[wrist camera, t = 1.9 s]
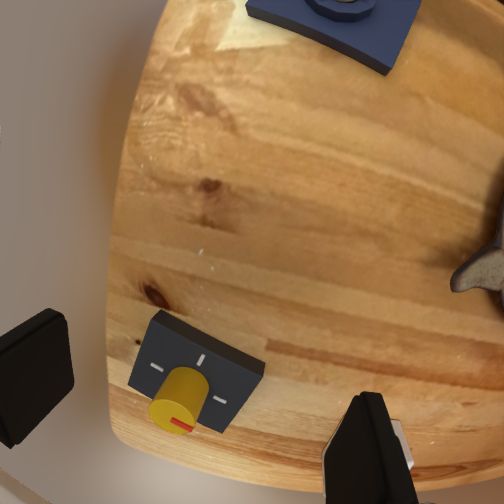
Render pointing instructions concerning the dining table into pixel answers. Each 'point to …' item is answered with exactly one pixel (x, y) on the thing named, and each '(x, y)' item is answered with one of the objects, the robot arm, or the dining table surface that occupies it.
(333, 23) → the button housing
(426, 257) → the dining table surface
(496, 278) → the oil lamp
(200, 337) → the dial base
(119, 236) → the dining table surface
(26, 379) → the robot arm
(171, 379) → the yellow dial knob
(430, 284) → the dining table surface
